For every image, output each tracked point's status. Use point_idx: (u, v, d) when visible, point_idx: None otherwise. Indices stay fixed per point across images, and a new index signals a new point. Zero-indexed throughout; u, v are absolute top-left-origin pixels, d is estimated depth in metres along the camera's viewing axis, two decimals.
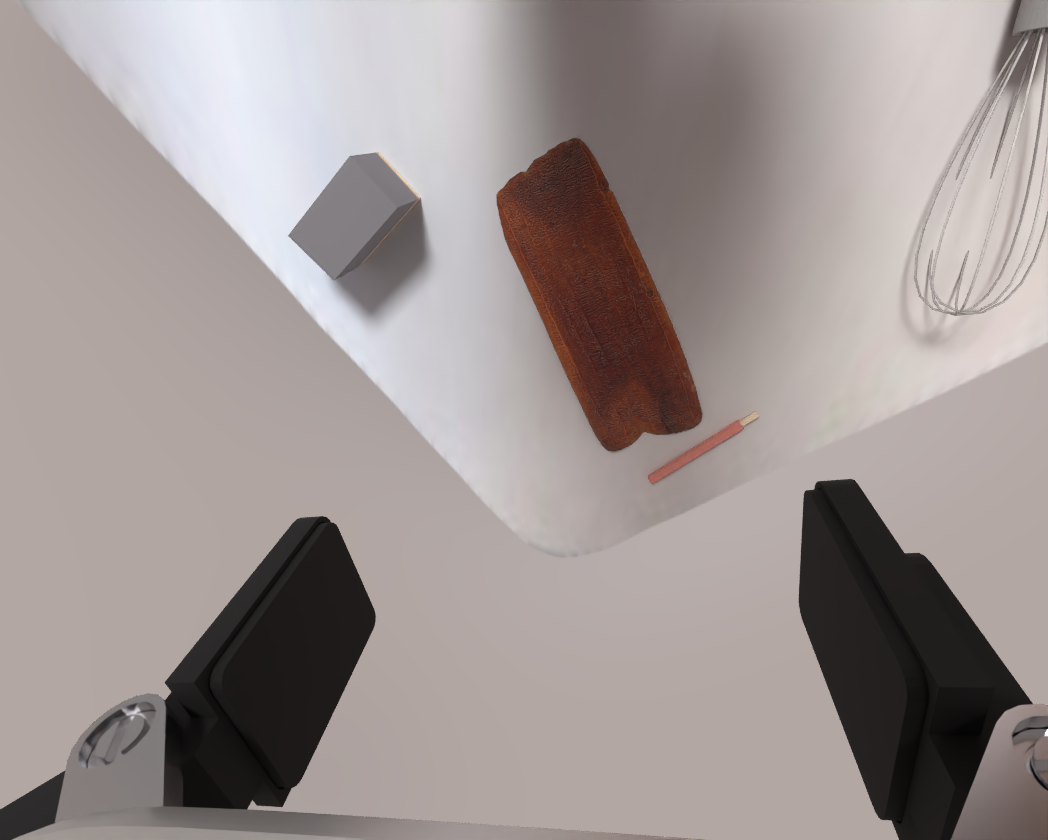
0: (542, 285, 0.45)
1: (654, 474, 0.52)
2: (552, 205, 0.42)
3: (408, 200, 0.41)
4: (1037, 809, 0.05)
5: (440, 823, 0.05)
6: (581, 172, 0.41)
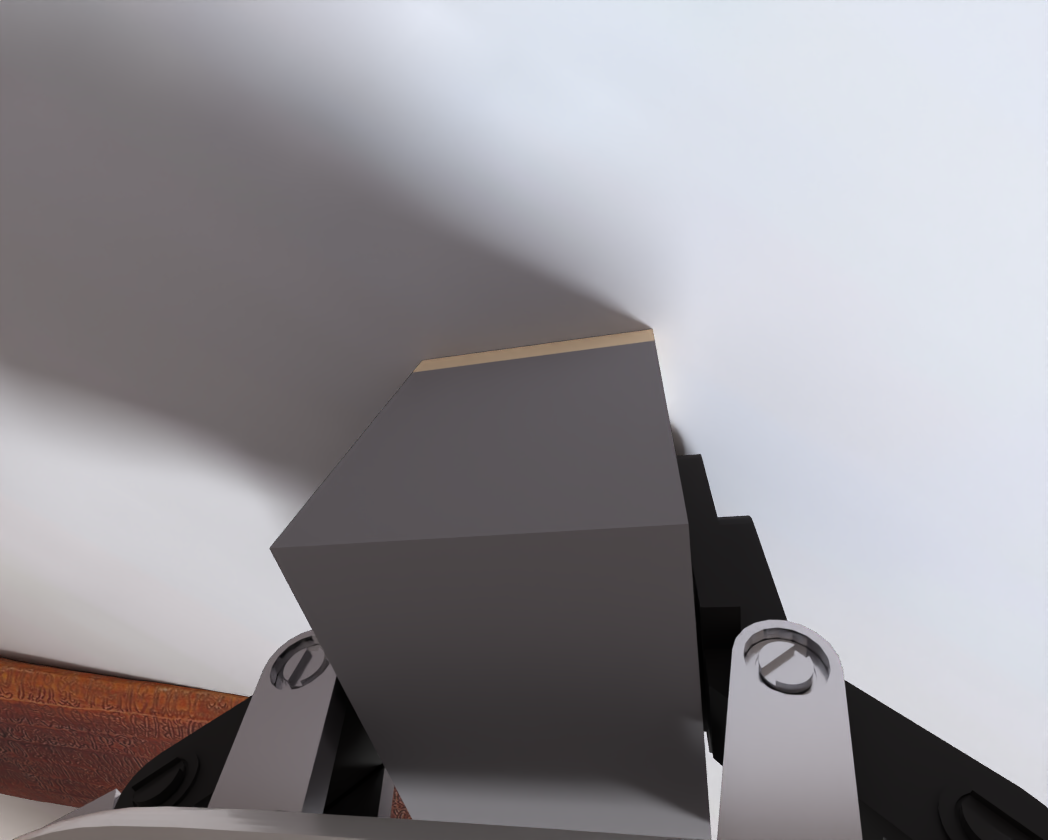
0: (174, 727, 0.18)
1: None
2: None
3: None
4: (769, 707, 0.06)
5: (441, 822, 0.05)
6: None
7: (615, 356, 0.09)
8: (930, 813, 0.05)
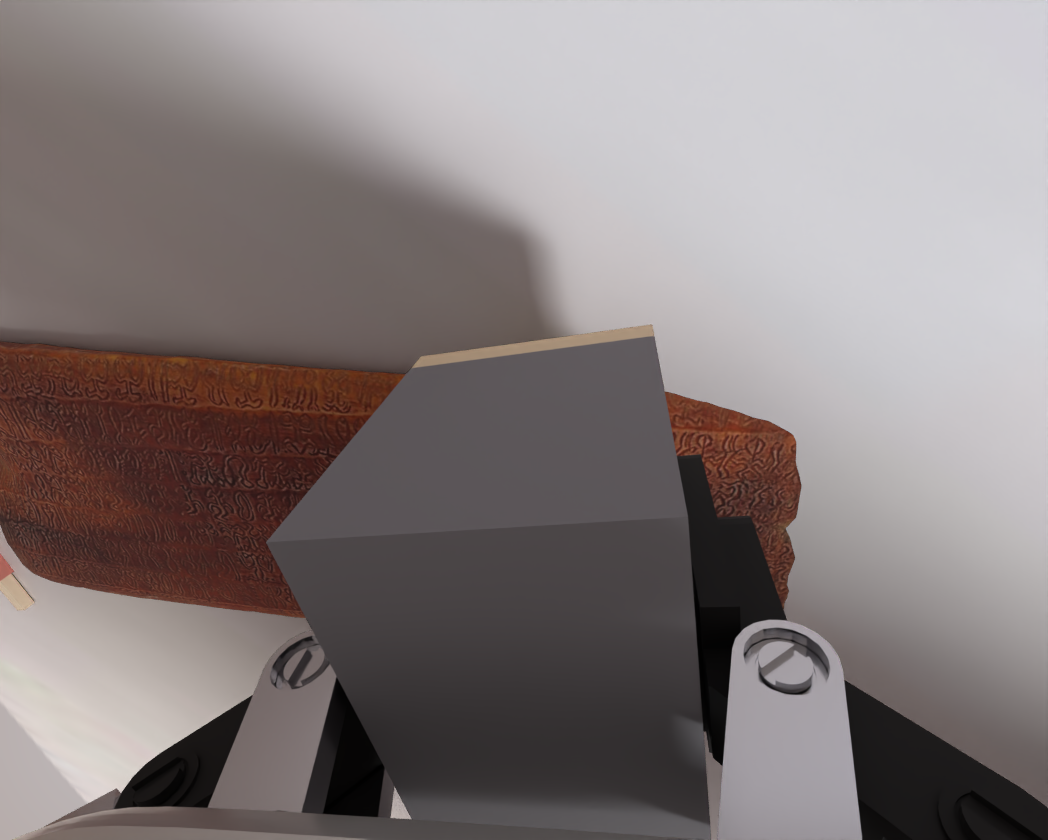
0: None
1: None
2: None
3: None
4: (769, 707, 0.06)
5: (439, 822, 0.05)
6: None
7: (614, 351, 0.09)
8: (930, 813, 0.05)
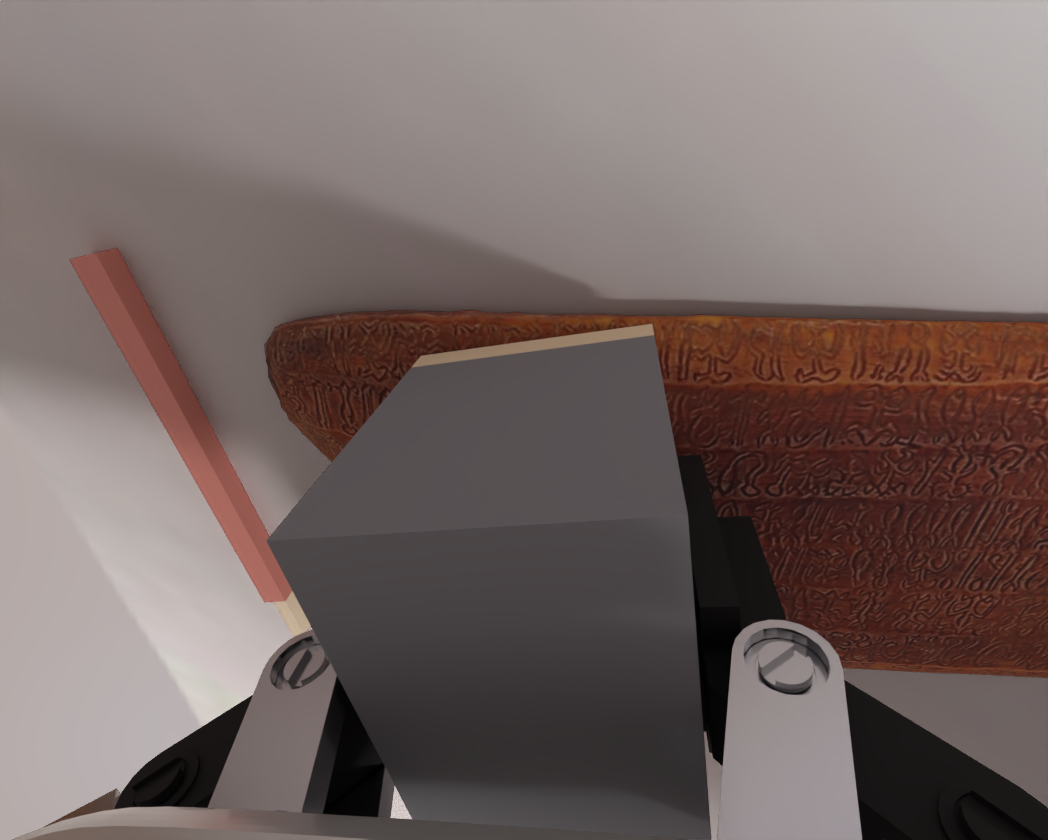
0: None
1: (117, 287, 0.12)
2: None
3: None
4: (769, 707, 0.06)
5: (440, 823, 0.05)
6: None
7: (614, 350, 0.09)
8: (930, 813, 0.05)
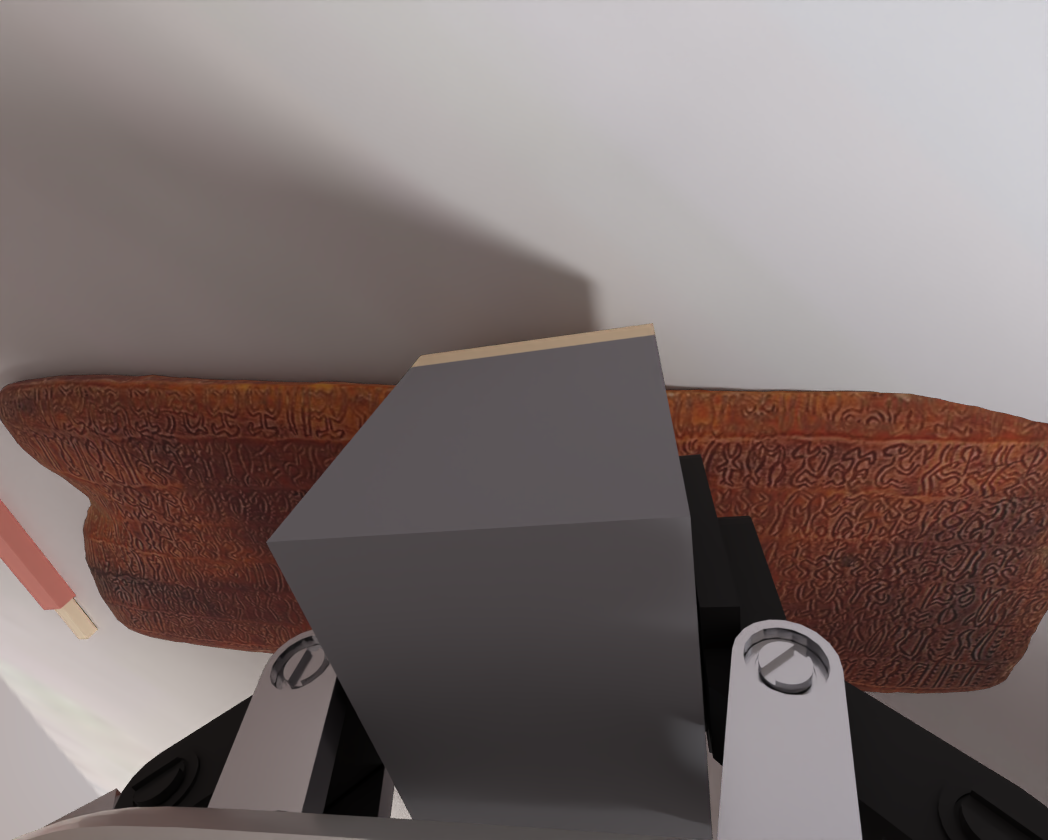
0: None
1: None
2: (898, 583, 0.13)
3: None
4: (769, 707, 0.06)
5: (441, 822, 0.05)
6: (914, 669, 0.14)
7: (615, 350, 0.09)
8: (930, 813, 0.05)
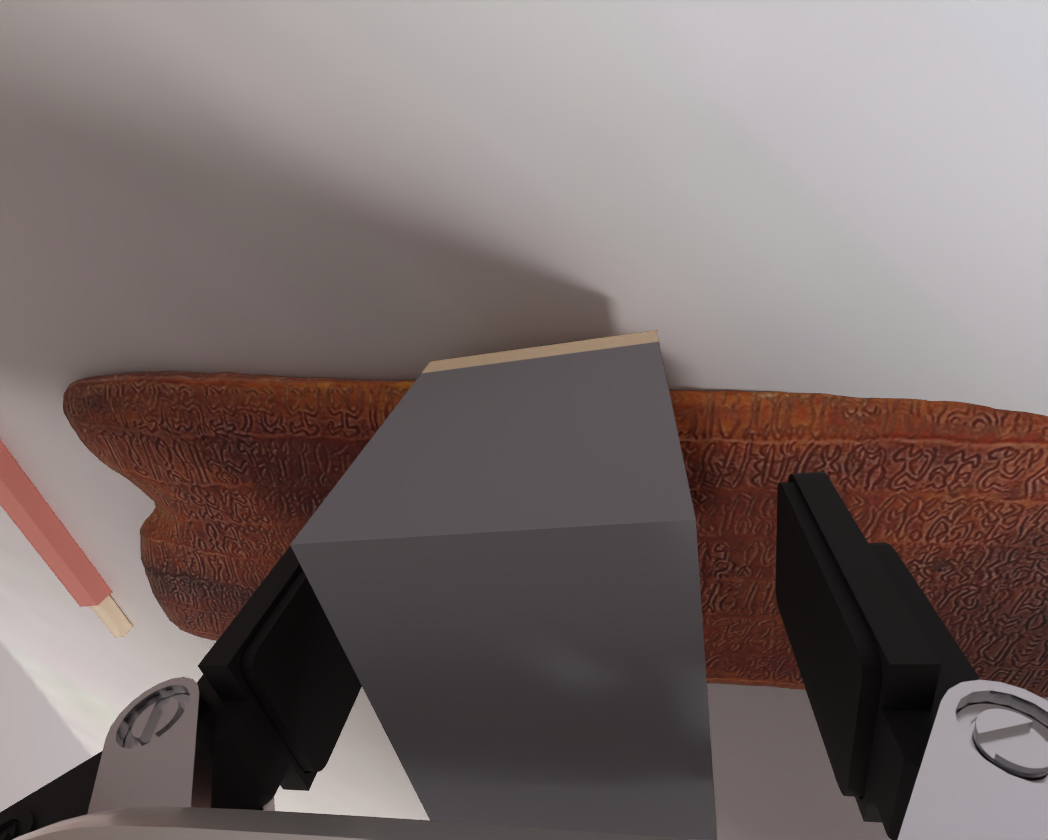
0: (776, 460, 0.11)
1: None
2: (989, 588, 0.12)
3: None
4: (980, 780, 0.05)
5: (441, 822, 0.05)
6: (995, 674, 0.14)
7: (620, 357, 0.09)
8: None
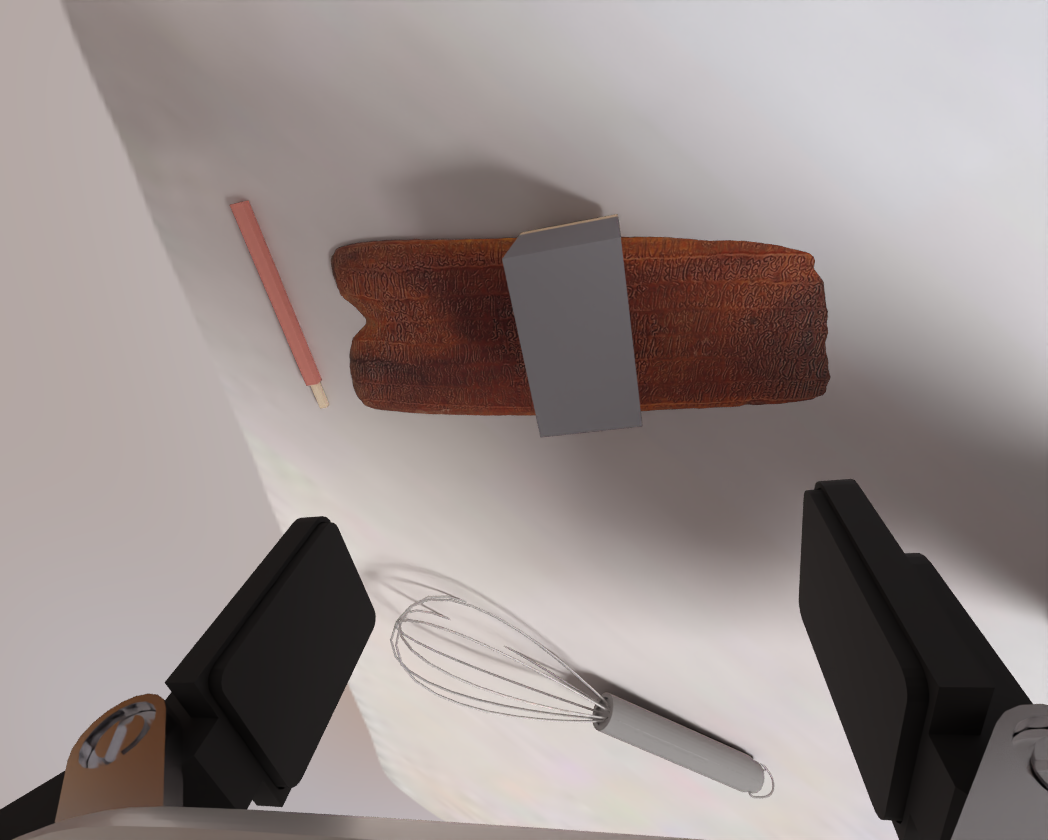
0: (674, 267, 0.26)
1: (249, 217, 0.27)
2: (777, 332, 0.27)
3: None
4: (1037, 809, 0.05)
5: (439, 822, 0.05)
6: (790, 385, 0.28)
7: (602, 220, 0.24)
8: None
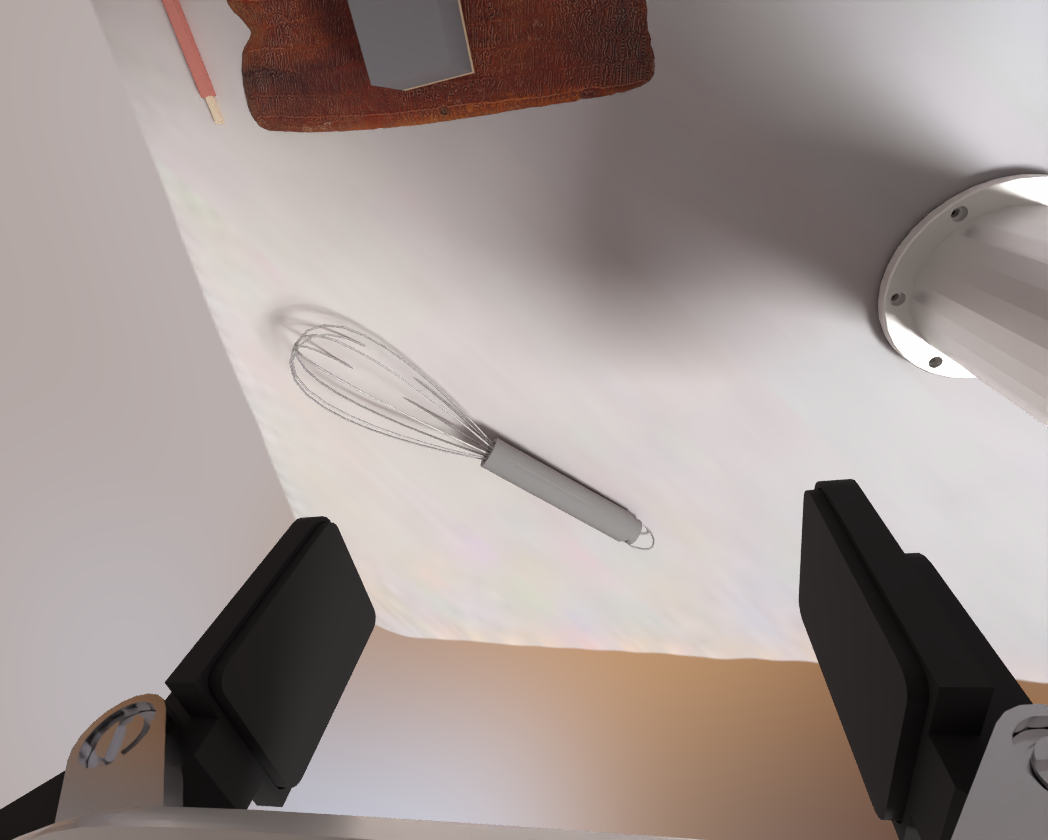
0: None
1: None
2: (595, 9, 0.31)
3: (392, 87, 0.31)
4: (1037, 809, 0.05)
5: (439, 821, 0.05)
6: (615, 69, 0.32)
7: None
8: None
